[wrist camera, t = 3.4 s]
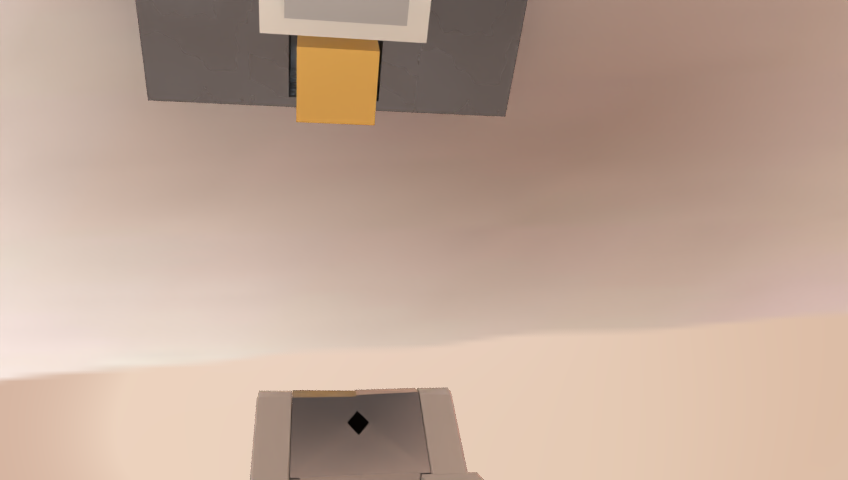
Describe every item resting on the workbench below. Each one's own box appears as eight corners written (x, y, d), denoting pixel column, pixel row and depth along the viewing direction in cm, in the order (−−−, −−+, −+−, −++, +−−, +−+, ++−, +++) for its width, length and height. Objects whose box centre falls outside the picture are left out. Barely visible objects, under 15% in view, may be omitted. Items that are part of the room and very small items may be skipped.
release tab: (371, 7, 24) (380, 51, 21) (367, 74, 26) (374, 125, 22) (299, 2, 24) (296, 46, 21) (299, 70, 25) (296, 122, 22)
